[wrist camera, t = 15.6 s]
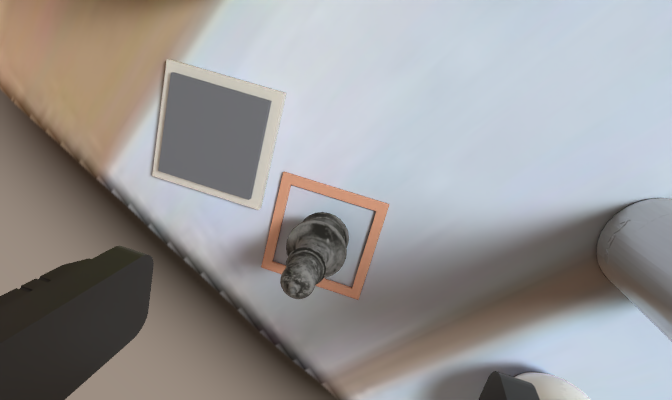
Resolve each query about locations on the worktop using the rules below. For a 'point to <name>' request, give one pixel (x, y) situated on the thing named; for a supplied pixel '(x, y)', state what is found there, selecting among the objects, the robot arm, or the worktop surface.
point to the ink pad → (216, 133)
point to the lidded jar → (553, 387)
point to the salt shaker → (313, 253)
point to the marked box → (334, 193)
